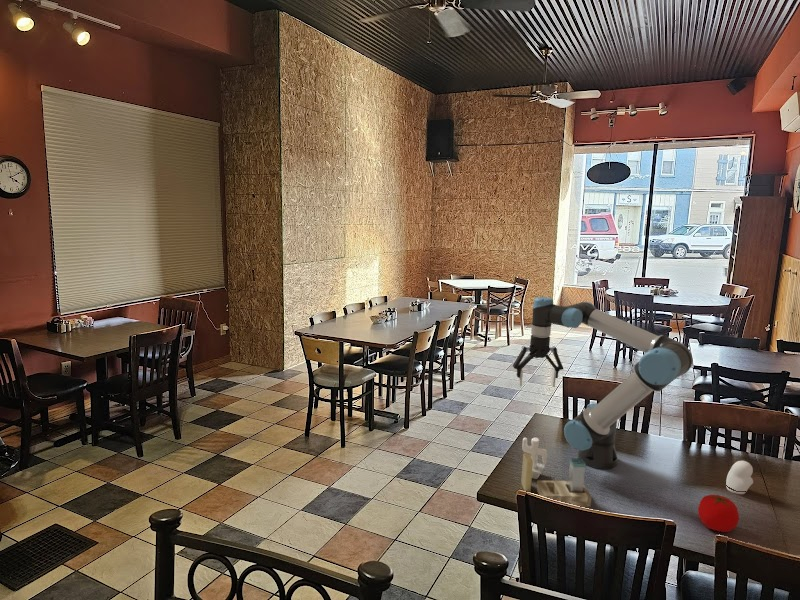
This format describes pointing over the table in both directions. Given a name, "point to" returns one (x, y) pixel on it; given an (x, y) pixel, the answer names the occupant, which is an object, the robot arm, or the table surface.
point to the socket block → (563, 493)
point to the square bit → (576, 475)
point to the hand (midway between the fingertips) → (536, 385)
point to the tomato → (718, 513)
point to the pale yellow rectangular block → (527, 472)
